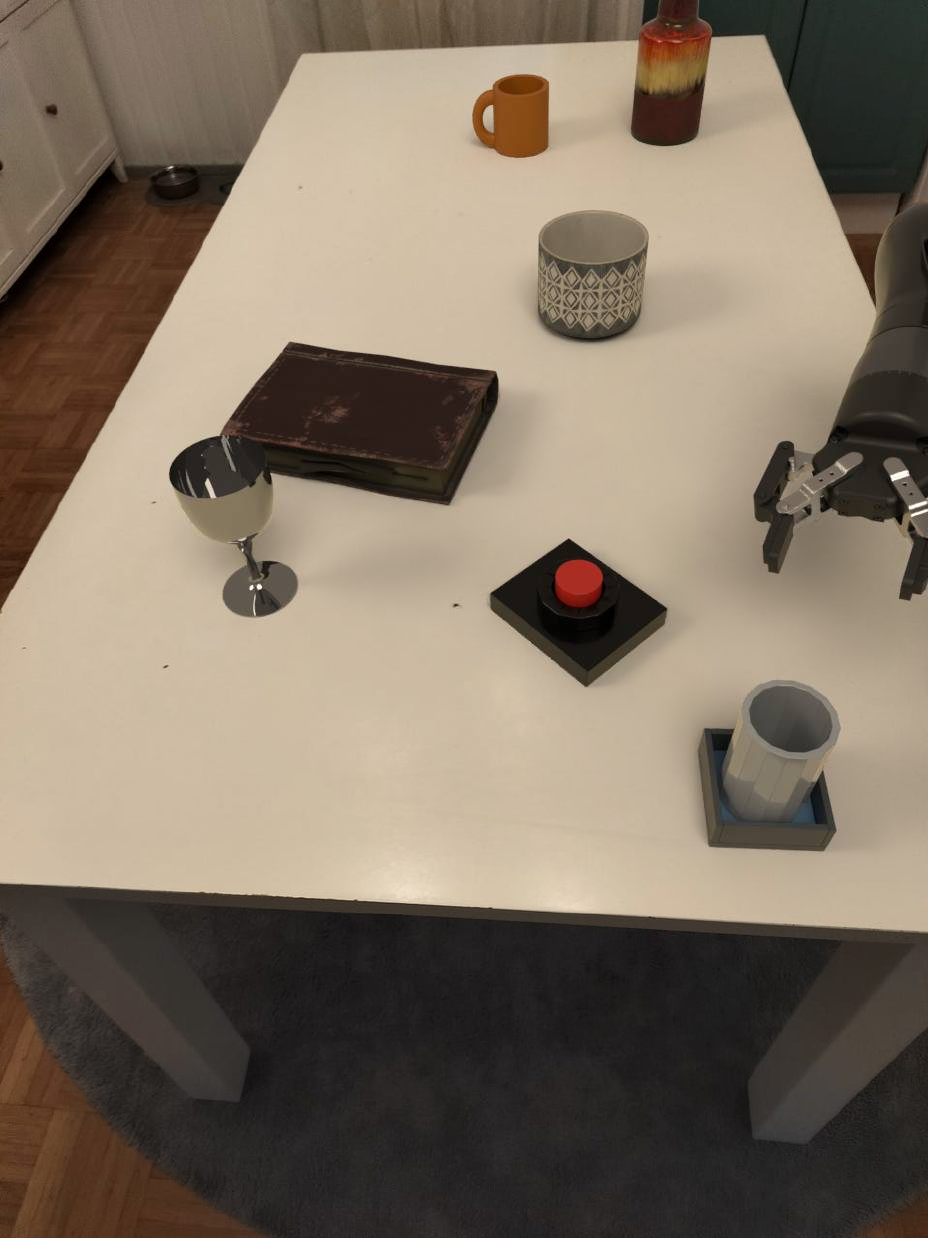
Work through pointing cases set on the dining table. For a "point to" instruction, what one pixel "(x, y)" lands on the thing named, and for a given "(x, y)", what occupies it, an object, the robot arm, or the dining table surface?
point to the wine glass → (234, 516)
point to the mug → (515, 115)
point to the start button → (578, 583)
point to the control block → (578, 615)
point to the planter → (591, 273)
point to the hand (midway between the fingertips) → (837, 579)
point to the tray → (727, 831)
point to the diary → (368, 420)
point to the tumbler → (777, 751)
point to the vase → (671, 74)
